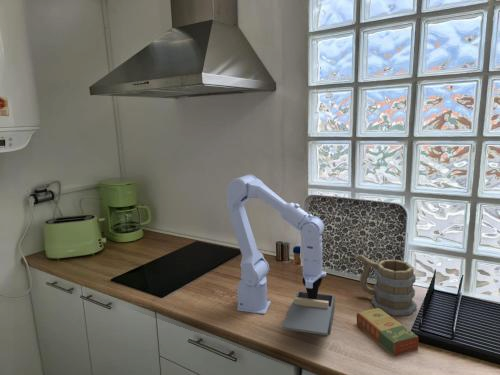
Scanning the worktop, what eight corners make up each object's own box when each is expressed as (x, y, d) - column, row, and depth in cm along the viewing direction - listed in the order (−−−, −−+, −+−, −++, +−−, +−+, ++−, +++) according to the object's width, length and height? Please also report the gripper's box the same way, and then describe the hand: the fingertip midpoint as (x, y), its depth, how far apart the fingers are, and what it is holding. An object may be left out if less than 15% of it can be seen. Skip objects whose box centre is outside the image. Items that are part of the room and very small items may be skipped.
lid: (282, 328, 96) (281, 320, 96) (292, 303, 109) (292, 296, 109) (327, 335, 93) (327, 327, 92) (332, 308, 106) (332, 301, 105)
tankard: (420, 304, 117) (423, 261, 114) (405, 320, 108) (407, 274, 105) (363, 286, 130) (364, 247, 128) (346, 299, 122) (346, 257, 119)
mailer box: (289, 327, 106) (289, 312, 105) (297, 304, 119) (297, 290, 118) (330, 333, 102) (330, 317, 101) (334, 309, 115) (334, 295, 114)
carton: (378, 319, 109) (379, 306, 109) (418, 350, 95) (419, 335, 94) (355, 324, 107) (356, 311, 106) (393, 357, 92) (394, 342, 91)
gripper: (323, 268, 99) (322, 313, 101) (328, 250, 112) (328, 290, 115) (298, 266, 101) (298, 310, 103) (306, 248, 114) (306, 288, 117)
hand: (312, 299), depth 109 cm, fingers closed
